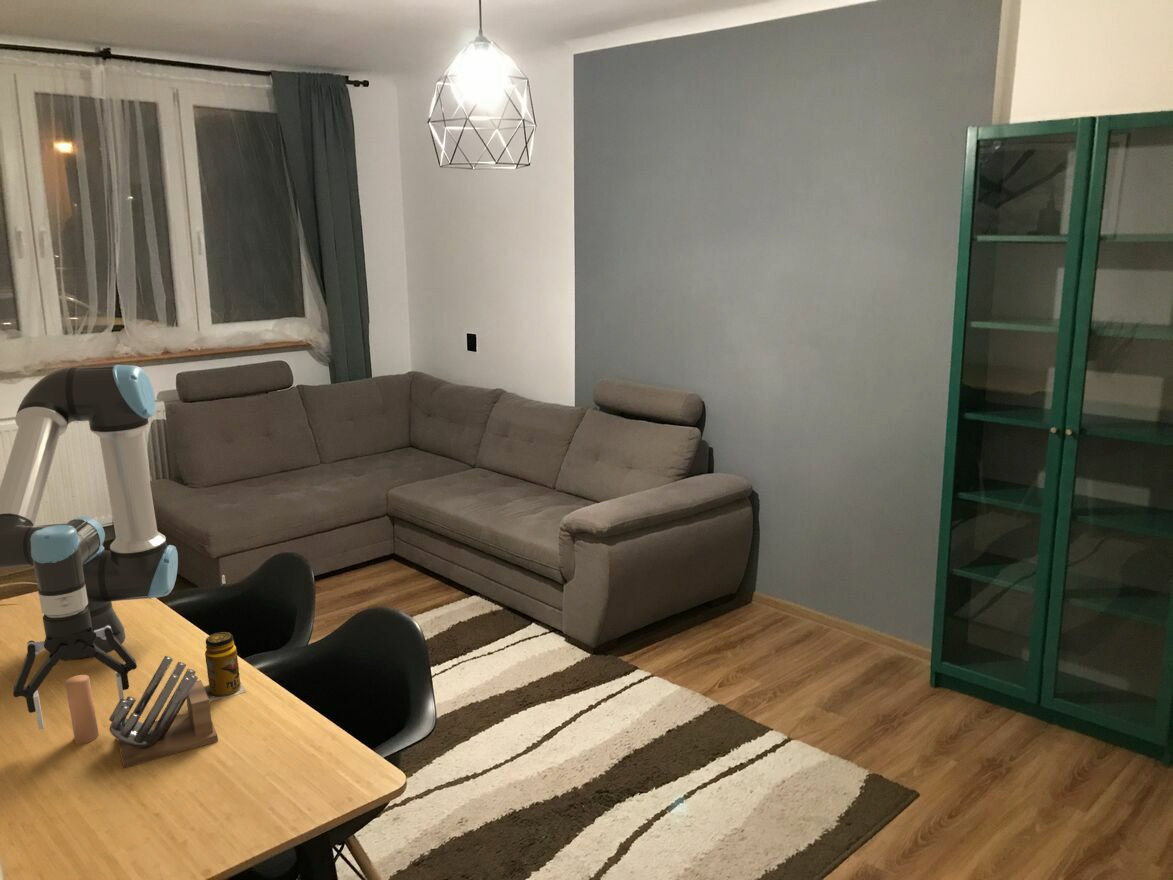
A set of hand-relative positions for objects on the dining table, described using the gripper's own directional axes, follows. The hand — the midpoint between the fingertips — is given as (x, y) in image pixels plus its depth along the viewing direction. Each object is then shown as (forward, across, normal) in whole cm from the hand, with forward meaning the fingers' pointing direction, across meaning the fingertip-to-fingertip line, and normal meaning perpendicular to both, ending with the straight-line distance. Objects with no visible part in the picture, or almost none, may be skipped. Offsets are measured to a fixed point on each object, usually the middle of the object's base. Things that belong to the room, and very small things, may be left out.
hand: (82, 715), depth 175 cm
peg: (+5, 0, 0) cm, 5 cm away
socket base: (+5, +13, -9) cm, 16 cm away
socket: (+5, +12, -9) cm, 15 cm away
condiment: (+5, +25, +5) cm, 26 cm away
